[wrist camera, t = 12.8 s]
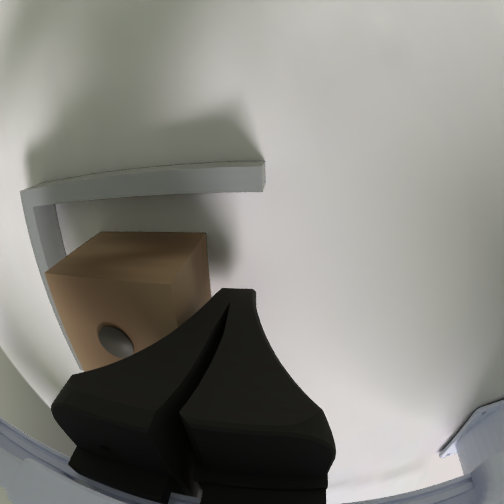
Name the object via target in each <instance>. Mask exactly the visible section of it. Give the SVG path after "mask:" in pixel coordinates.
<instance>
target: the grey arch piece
mask: <svg viewBox="0 0 504 504" xmlns="http://www.w3.org/2000/svg"><path fill="white" fill-rule="evenodd" d="M264 186H265V161H243V162H215V163H197V164H182V165H169V166H158V167H147V168H138V169H129V170H121V171H113V172H105V173H98V174H91V175H85V176H79V177H73V178H67V179H61V180H56V181H50V182H45V183H40V184H38V185H35V186H32V187H30V188H27V189H25V190H22V191H20V194H21V200H22V205H23V210H24V215H25V220H26V224H27V228H28V232H29V236H30V240H31V244H32V248H33V251H34V255H35V258H36V262H37V265H38V268H39V271H40V275H41V278H42V281H43V284H44V286H45V289H46V292H47V295H48V298H49V300H50V303H51V305H52V308H53V311H54V313H55V316H56V318H57V320H58V323H59V325H60V328H61V330H62V332H63V334H64V337H65V339H66V341H67V343H68V345H69V347H70V350H71V352H72V354H73V356H74V358H75V360H76V362H77V364H78V366H79V368H80V369H81V370H83V368H82V366H81V364H80V362H79V360H78V358H77V356H76V354H75V351H74V349H73V347H72V345H71V343H70V340H69V338H68V336H67V334H66V331H65V329H64V326H63V324H62V321H61V319H60V316H59V314H58V311H57V309H56V306H55V303H54V300H53V298H52V295H51V292H50V289H49V286H48V283H47V280H46V277H45V274H44V273H45V272H46V271H47V270H49V269H50V268H51V267H53V266H54V265H55V264H57V263H58V262H59V261H61V260H62V259H63V258H65V257H66V254H65V250H64V246H63V242H62V238H61V234H60V229H59V225H58V220H57V215H56V210H55V205H54V204H59V203H68V202H77V201H87V200H97V199H109V198H121V197H134V196H149V195H167V194H189V193H220V192H263V189H264ZM83 371H84V370H83Z"/></svg>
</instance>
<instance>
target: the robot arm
mask: <svg viewBox="0 0 504 504" xmlns="http://www.w3.org/2000/svg"><path fill="white" fill-rule="evenodd" d="M51 411H52V414H53V416H54V419H55V420H56V421H57V423H58V424H59V425H60V427H61V428H62V429H63V430H64V432H65V433H66V434H67V435H68V436H69V437H70V439H71V440H72V441H73V442H74V443H75V444H76V445H77V447H76V449H75V451H74V453H73V455H72V457H68V456H67V455H65V454H62V453H60V452H58V451H56V450H54V449H53V448H51V447H49V446H47V445H45V444H43V443H41V442H40V441H38V440H36V439H34V438H33V437H31V436H29V435H28V434H26V433H24V432H23V431H21V430H19V429H18V428H16V427H15V426H13V425H11V424H10V423H9V422H7V421H6V420H4V419H3V418H1V417H0V485H1V486H2V487H3V488H4V489H5V490H7V496H8V499H9V500H10V501H11V502H12V503H13V504H127V503H128V504H326V489H327V487H328V474H327V473H328V471H329V469H330V467H331V465H332V463H333V461H334V459H335V455H336V447H335V442H334V438H333V435H332V432H331V429H330V426H329V424H328V421H327V419H326V417H325V414H324V412H323V410H322V409H321V408H320V407H319V406H318V405H317V404H315V403H314V402H313V401H312V400H311V399H310V398H309V397H308V396H307V395H306V394H305V393H304V392H303V391H302V389H301V388H300V387H299V386H298V385H297V384H296V383H295V381H294V380H293V379H292V378H291V376H290V375H289V374H288V372H287V371H286V370H285V368H284V367H283V366H282V364H281V363H280V361H279V359H278V358H277V356H276V355H275V353H274V351H273V349H272V348H271V346H270V344H269V342H268V340H267V338H266V335H265V333H264V331H263V328H262V325H261V323H260V319H259V316H258V313H257V309H256V292H255V291H254V290H253V289H233V288H222V289H221V290H219V291H218V292H217V293H216V294H215V295H214V296H213V297H212V298H211V299H210V300H209V301H208V302H207V303H206V304H205V305H204V306H203V307H201V308H200V309H199V310H198V311H197V312H196V313H195V314H194V315H193V316H192V317H190V318H189V319H188V320H187V321H185V322H184V323H183V324H182V325H180V326H179V327H178V328H177V329H175V330H174V331H173V332H171V333H170V334H168V335H167V336H165V337H164V338H162V339H160V340H159V341H157V342H156V343H154V344H152V345H150V346H148V347H147V348H145V349H143V350H141V351H139V352H137V353H135V354H133V355H131V356H129V357H126V358H124V359H122V360H119V361H117V362H114V363H112V364H109V365H106V366H103V367H100V368H97V369H93V370H90V371H86V372H82V373H79V374H74V375H72V376H71V377H70V378H69V380H68V381H67V383H66V384H65V386H64V387H63V389H62V390H61V391H60V393H59V394H58V396H57V397H56V399H55V400H54V402H53V403H52V405H51ZM456 453H458V456H459V460H460V463H461V466H462V470H463V473H464V475H463V476H460V477H458V478H455V479H452V480H449V481H446V482H443V483H440V484H437V485H433V486H430V487H427V488H423V489H419V490H416V491H412V492H408V493H403V494H399V495H394V496H389V497H384V498H379V499H373V500H366V501H359V502H352V503H343V504H504V400H501V401H498V402H495V403H492V404H489V405H486V406H483V407H480V408H478V409H477V410H476V411H475V412H474V413H473V415H472V416H471V417H470V419H469V420H468V421H467V422H466V424H465V425H464V426H463V427H462V429H461V430H460V431H459V432H458V434H457V435H456V436H455V437H454V438H453V439H452V441H451V442H450V443H449V444H448V445H447V446H446V447H445V448H444V450H443V451H442V452H441V453H440V454H439V457H440V458H443V457H447V456H450V455H453V454H456ZM89 488H90V489H89ZM91 489H92V490H91ZM98 492H99V493H98ZM103 494H104V495H103ZM108 496H109V497H108ZM113 498H114V499H113ZM121 501H122V502H121ZM124 502H125V503H124Z"/></svg>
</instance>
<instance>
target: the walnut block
mask: <svg viewBox="0 0 504 504" xmlns="http://www.w3.org/2000/svg"><path fill="white" fill-rule="evenodd" d="M44 274H45V277H46V280H47V283H48V286H49V289H50V292H51V295H52V298H53V300H54V303H55V306H56V309H57V311H58V314H59V316H60V319H61V321H62V324H63V326H64V329H65V331H66V334H67V336H68V338H69V340H70V343H71V345H72V347H73V349H74V351H75V354H76V356H77V358H78V360H79V362H80V364H81V366H82V368H83V370H84V372H86V371H90V370H93V369H97V368H100V367H103V366H106V365H109V364H112V363H114V362H117V361H119V360H122V359H124V358H126V357H129V356H131V355H133V354H135V353H137V352H139V351H141V350H143V349H145V348H147V347H148V346H150V345H152V344H154V343H156V342H157V341H159V340H160V339H162V338H164V337H165V336H167V335H168V334H170V333H171V332H173V331H174V330H175V329H177V328H178V327H179V326H180V325H182V324H183V323H184V322H185V321H187V320H188V319H189V318H190V317H192V316H193V315H194V314H195V313H196V312H197V311H198V310H199V309H200V308H201V307H203V306H204V305H205V304H206V303H207V302H208V301H209V300H210V299H211V289H210V279H209V267H208V256H207V243H206V233H188V232H100V233H98V234H97V235H95V236H94V237H92V238H91V239H90V240H88V241H87V242H85V243H84V244H82V245H81V246H80V247H78V248H77V249H76V250H74V251H73V252H71V253H70V254H69V255H67V256H66V257H65V258H63V259H62V260H61V261H59V262H58V263H57V264H55V265H54V266H53V267H51V268H50V269H49V270H47V271H46V272H45V273H44Z"/></svg>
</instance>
